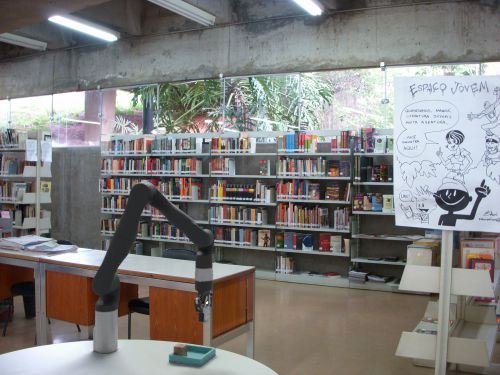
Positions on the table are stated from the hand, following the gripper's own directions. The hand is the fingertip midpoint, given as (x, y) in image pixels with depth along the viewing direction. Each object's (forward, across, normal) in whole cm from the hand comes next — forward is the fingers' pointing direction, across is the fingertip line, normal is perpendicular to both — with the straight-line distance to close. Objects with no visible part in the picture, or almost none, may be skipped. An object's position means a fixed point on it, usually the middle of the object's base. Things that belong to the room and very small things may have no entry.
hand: (203, 320), depth 206 cm
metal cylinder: (0, 0, 0) cm, 0 cm away
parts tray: (+15, +3, -4) cm, 16 cm away
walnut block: (+14, +6, -8) cm, 17 cm away
